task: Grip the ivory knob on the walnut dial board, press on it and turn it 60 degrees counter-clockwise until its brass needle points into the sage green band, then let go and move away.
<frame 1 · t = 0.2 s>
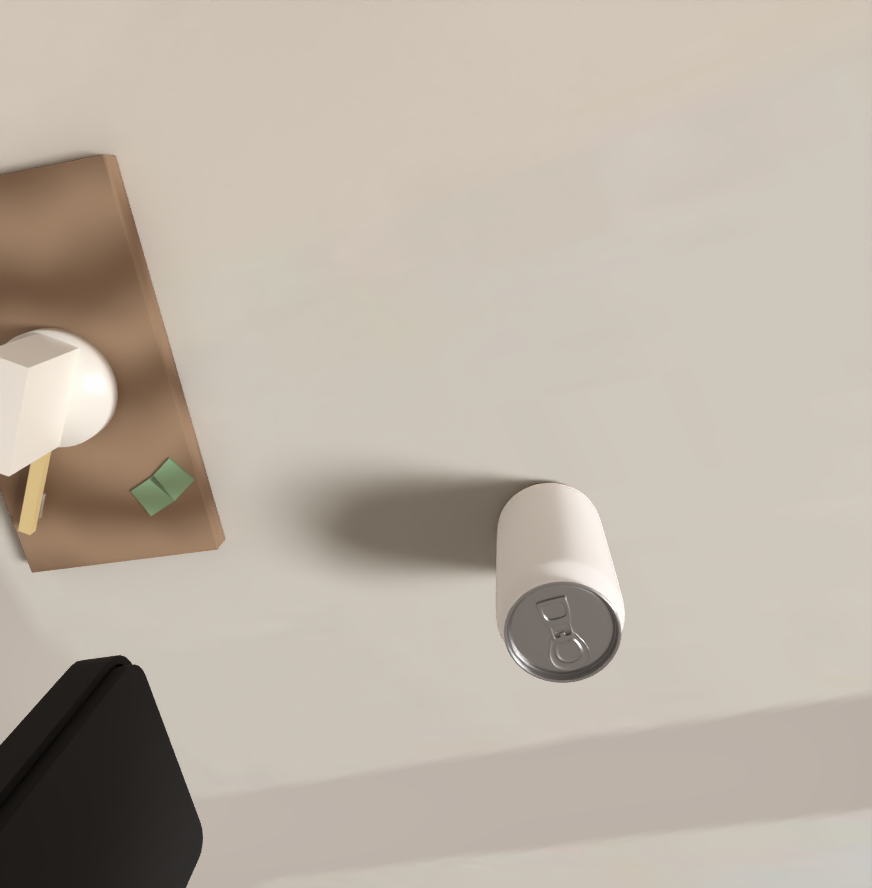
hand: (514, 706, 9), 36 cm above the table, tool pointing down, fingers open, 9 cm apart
dial board: (76, 378, 48), on the table
knob: (21, 450, 44), point 5 cm above the table, hinge at -30.0°
can: (548, 526, 48), on the table
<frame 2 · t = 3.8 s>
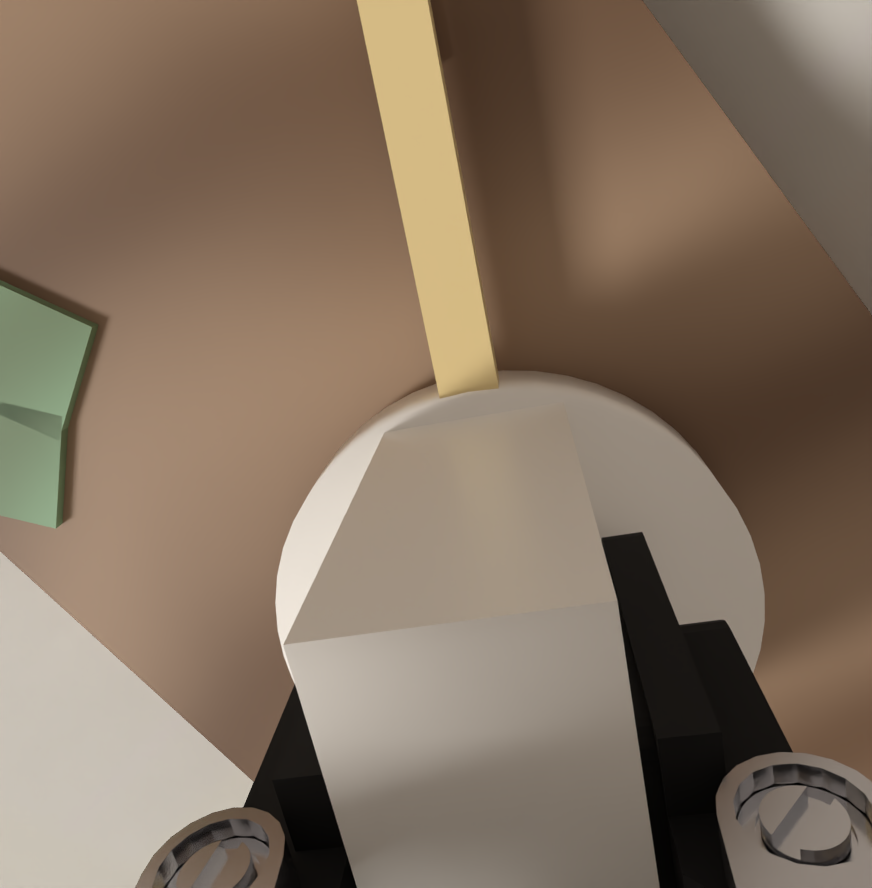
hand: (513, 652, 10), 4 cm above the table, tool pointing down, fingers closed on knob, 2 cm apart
dial board: (511, 535, 14), on the table
knob: (464, 463, 8), point 5 cm above the table, hinge at -30.0°, touching gripper
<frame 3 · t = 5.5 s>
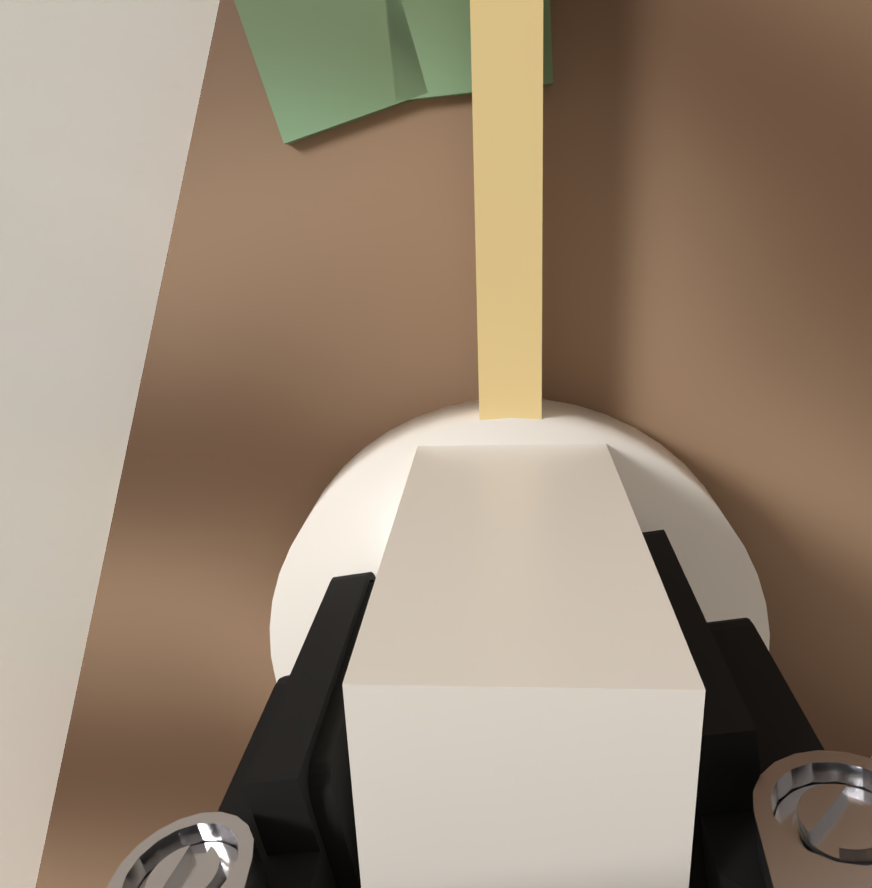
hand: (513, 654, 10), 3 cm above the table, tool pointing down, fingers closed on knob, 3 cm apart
dial board: (510, 560, 14), on the table
knob: (512, 498, 8), point 5 cm above the table, hinge at 20.9°, touching gripper
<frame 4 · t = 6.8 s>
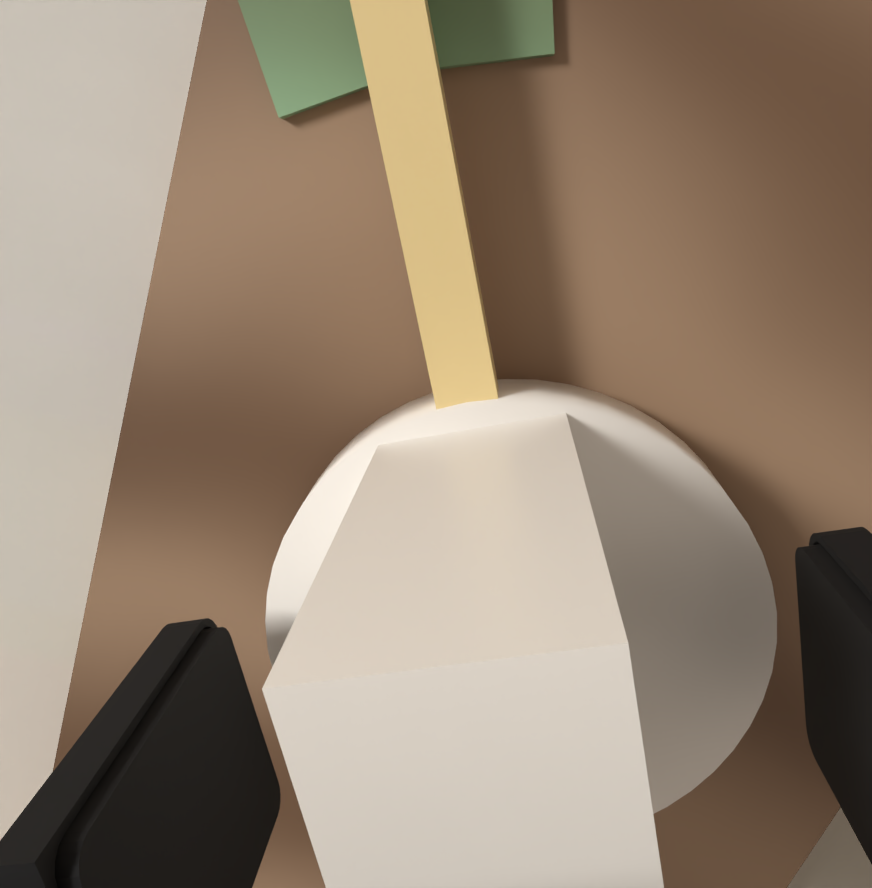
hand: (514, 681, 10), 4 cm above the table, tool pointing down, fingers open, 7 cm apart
dial board: (511, 548, 13), on the table
knob: (462, 481, 8), point 5 cm above the table, hinge at 30.1°
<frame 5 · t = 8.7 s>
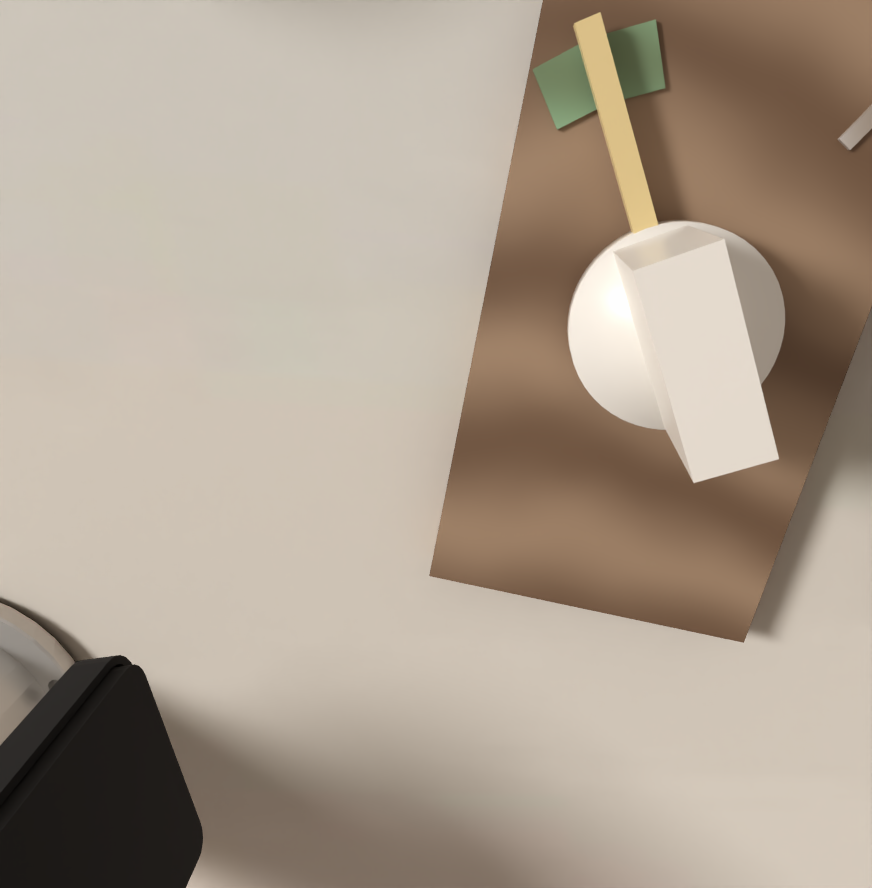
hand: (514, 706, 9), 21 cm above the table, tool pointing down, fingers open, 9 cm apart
dial board: (660, 314, 28), on the table
knob: (658, 242, 23), point 5 cm above the table, hinge at 30.5°
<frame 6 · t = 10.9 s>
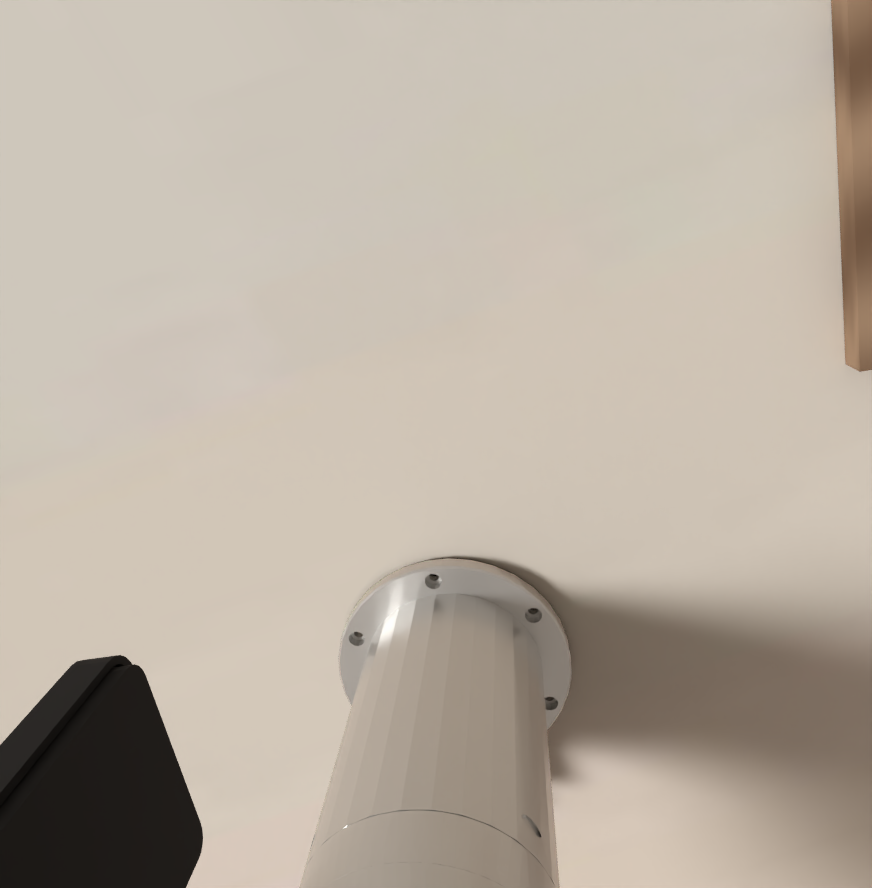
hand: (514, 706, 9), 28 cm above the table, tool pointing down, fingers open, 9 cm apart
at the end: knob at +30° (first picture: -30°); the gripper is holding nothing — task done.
